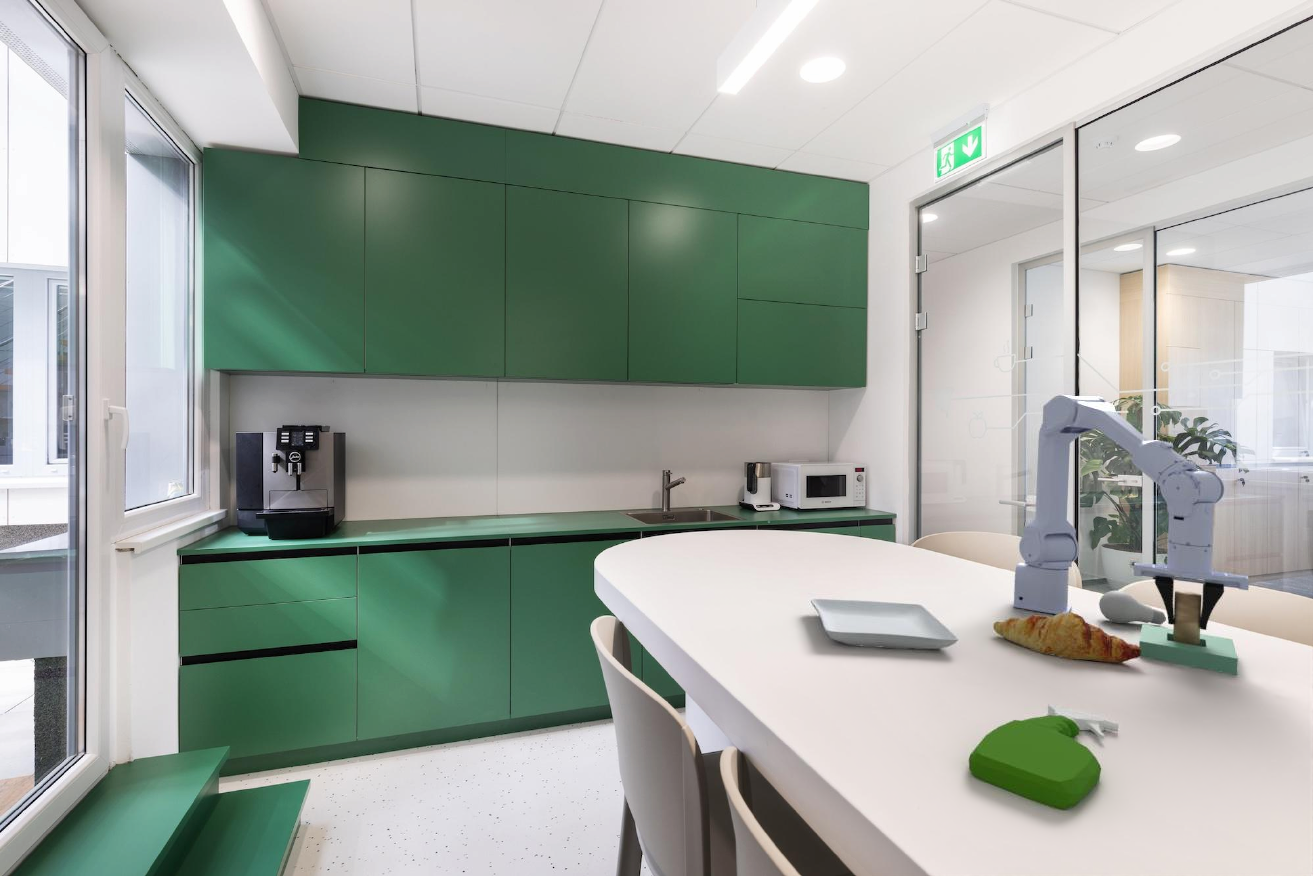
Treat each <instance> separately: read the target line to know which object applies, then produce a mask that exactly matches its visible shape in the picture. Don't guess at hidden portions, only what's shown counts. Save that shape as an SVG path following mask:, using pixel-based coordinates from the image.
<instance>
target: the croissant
mask: <svg viewBox="0 0 1313 876" xmlns="http://www.w3.org/2000/svg"><path fill="white" fill-rule="evenodd" d="M992 627H993V630H994V632H996V633H997V634H998V635H1000V636H1001V637H1002V638H1004V639H1006V640H1008V641H1010V642H1013V643H1014V644H1018V645H1020V646H1023V647H1024V648H1028V649H1030V648H1031V649H1030V650H1033V651H1035V650H1036V652H1037V653H1041V652H1042V653H1041V654H1046V653H1047V654H1046V655H1050V654H1054V655H1053V656H1055V655H1056V656H1055V657H1059V656H1061V657H1060V658H1063V657H1064V658H1065V659H1070V658H1071V660H1085V661H1086V660H1087V661H1088V660H1089V661H1095V662H1103V663H1124V662H1127V661H1130V660H1133V659H1135V660H1136V659H1138V658H1140V657H1141V656H1140V655H1141V649H1140V647H1139V646H1138V645H1136V644H1131V643H1127V642H1126V641H1125V640H1124V639H1122V638H1120V637H1118V636H1116V635H1109V634H1108V633H1107V632H1105V631H1104V630H1103V629H1102V628H1100V627H1098V626H1095V625H1092V624H1090V623H1088V622H1086V620H1085V619H1084V617H1083V616H1081V615H1078V614H1077V613H1074V612H1071V611H1070V612H1069V613H1065V614H1063V613H1060V614H1054V616H1047V615H1037V614H1036V615H1035V614H1033V615H1029V616H1027V617H1021V618H1018V617H1017V618H1015V617H1013V618H1012V617H1011V618H1008V619H1005V620H1004V621H997V620H996V621H995V622H994V623H993V626H992Z"/></svg>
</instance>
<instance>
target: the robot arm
mask: <svg viewBox="0 0 1313 876" xmlns="http://www.w3.org/2000/svg"><path fill="white" fill-rule="evenodd" d="M1042 408H1043V409H1042V423H1041V425H1040V428H1039V432H1038V442H1037V444H1038V447H1037V448H1038V451H1037V474H1036V493H1035V494H1036V498H1035V499H1036V500H1035V517H1034V518H1033V519H1032V520H1031V521H1029V522H1028V523H1027V524H1025V525H1024V526H1023V532H1022V533H1023V534H1022V536H1021V539H1020V541H1019V544H1018V548H1019V554H1020V556H1021V558H1022V559H1023V560H1024V562H1017V564H1016V566H1015V571H1014V588H1013V589H1014V592H1013V596H1014V597H1013V605H1012V606H1013V608H1018V609H1023V610H1029V611H1035V612H1040V613H1041V612H1042V613H1046V614H1053V615H1057V614H1060V613H1063V614H1065V613H1069V612H1071V610H1072V605H1069V604H1068V598H1069V574H1070V572H1069V570H1070V568H1071V567H1072V565H1073V564H1072V563H1074V562H1075V561H1076V560H1077V559H1078V557H1079V554H1080V546H1079V543H1078V540H1077V537H1076V536H1077V535H1076V533H1077V530H1076V528H1075V527H1074V526H1073V525H1072V524H1071V523H1070V522H1069V521H1068V518H1067V517H1068V498H1069V497H1068V495H1069V475H1070V474H1069V473H1070V471H1069V469H1070V453H1071V452H1070V449H1071V448H1070V447H1071V443H1072V442H1073V441H1075V440H1076V439H1078V437H1080V436H1081V435H1083V434H1085V433H1088V432H1091V431H1094V430H1098V431H1099V432H1100V433H1102V434H1104V435H1105V436H1106V437H1107V438H1109V439H1110V440H1112V442H1115V443H1116V444H1117V445H1118V446H1120V447H1122V448H1123V449H1125V451H1126V452H1128V453H1130V454H1131V456H1132V457H1131V462H1132V464H1133V465H1134V467H1136V468H1137V469H1138V470H1139V471H1140V472H1142V473H1143V474H1145V475H1146V476H1147V477H1148V478H1149V479H1150V480H1152V481H1153V482H1154V483H1155V484H1156V485H1158V486H1159V489H1160V493H1161V496H1162V498H1163V499H1164V501H1165V502H1166V511H1167V512H1168V532H1167V533H1168V535H1167V536H1168V537H1167V555H1166V556H1167V559H1166V560H1167V561H1166V564H1165V565H1163V564H1153V563H1151V564H1150V563H1141V562H1140V563H1139V562H1134V563H1133V564H1134V565H1133V576H1135V577H1149V578H1154V585H1155V586H1156V588H1157V590H1158V593H1159V594H1160V597H1161V599H1162V602H1163V605H1164V606H1165V607H1164V608H1165V610H1166V611H1165V612H1166V615H1167V621H1168V622H1167V623H1168V625H1173V626H1174V589H1175V588H1174V584H1175V583H1174V581H1178V582H1179V581H1180V582H1187V583H1196V584H1202V601H1201V621H1200V630H1204V631H1207V627H1208V623H1209V622H1208V621H1209V619H1210V617H1211V614H1212V612H1213V610H1214V608H1215V607H1216V606H1217V603H1219V600H1220V599H1222V596H1223V595H1224V593H1225V588H1233V589H1238V590H1241V591H1242V590H1243V591H1249V587H1250V586H1249V583H1250V579H1249V576H1248V575H1240V574H1234V573H1233V574H1232V573H1229V572H1228V573H1226V572H1222V571H1221V572H1220V571H1216V570H1215V571H1214V570H1213V550H1214V546H1213V544H1214V528H1215V527H1214V526H1215V504H1216V503H1218V502H1219V501H1220V500H1221V499H1222V498H1223V497H1224V494H1225V485H1224V483H1223V480H1222V479H1221V478H1220V477H1219V475H1217V474H1216V472H1215V471H1212V470H1209V469H1199V468H1197V464H1196V463H1195V462H1193V461H1192V460H1191V461H1190V460H1187V459H1186V458H1184V457H1183V456H1182V455H1181V454H1179V453H1178V452H1176V451H1175V450H1174V444H1172V443H1170V442H1169V441H1162V440H1159V439H1155V440H1154V439H1153V440H1149V439H1148V438H1147V437H1145V436H1144V434H1142V433H1141V432H1140V431H1139V430H1138V429H1137V428H1135V427H1134V426H1133V425H1132V424H1131V423H1130V422H1129V421H1128V420H1126V419H1125V418H1124V417H1123V416H1122V415H1121V414H1120V413H1118V412H1117V411H1116V409H1115V406H1114V404H1111V403H1110V402H1108V401H1106V399H1105V398H1103V397H1101V396H1097V395H1096V396H1093V395H1092V396H1079V395H1077V396H1075V395H1073V396H1072V395H1065V394H1058V395H1055V396H1053V397H1052V398H1051V399H1050V400H1048V402H1046V403H1045V404H1044V405H1043V407H1042Z"/></svg>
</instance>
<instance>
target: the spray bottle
mask: <svg viewBox="0 0 1313 876" xmlns="http://www.w3.org/2000/svg"><path fill="white" fill-rule="evenodd" d="M1105 730H1108V731H1113V732H1119V722H1116V721H1112V720H1109V719H1106V718H1103V717H1102V716H1100V715H1099V716H1098V715H1094V714H1090V713H1086V712H1083V711H1079V710H1075V709H1071V708H1067V707H1063V706H1059V705H1054V704H1047V715H1044V716H1038V717H1037V716H1036V717H1031V718H1027V719H1023V720H1017V719H1015V720H1014V719H1013V720H1012V721H1009V722H1006V723H1005V724H1002V725H1000V726H998V727H996V728H995V729H993V730H992V731H991V732H988V733H987V734H985V736H984V737H983V738H982V739H981V741H980V742H979V743H978V744H977V746H976V747H975V748H974V749H973V750H972V752H971V753H970V755H969V758H968V766H969V767H968V769H969V770H970V772H971V774H972V775H973V777H974V778H976V779H978V780H980V781H982V782H984V783H987V784H990V785H993V786H994V787H997V788H1000V789H1001V790H1004V791H1007V792H1010V793H1012V794H1015V795H1018V796H1020V797H1023V798H1025V799H1026V800H1027V799H1028V800H1030V801H1033V802H1036V803H1039V804H1041V805H1044V806H1047V805H1048V806H1047V807H1049V808H1053V809H1058V810H1062V809H1063V811H1064V810H1067V809H1070V807H1071V808H1073V807H1075V806H1076V805H1077V804H1078V803H1079V802H1080V801H1082V799H1083V798H1085V796H1087V795H1088V794H1089V793H1090V792H1091V791H1092V790H1093V788H1094V787H1095V786H1096V785H1097V784H1098V782H1099V781H1100V777H1101V772H1102V766H1101V764H1100V763H1099V760H1098V759H1097V757H1096V756H1095V755H1094V753H1092V751H1091V750H1090V749H1089V748H1088V747H1087V746H1085V745H1083V744H1082V743H1080V742H1079V741H1077V740H1075V739H1073V738H1075V737H1077V736H1079V734H1080V731H1091V732H1093V733H1094V734H1095V735H1097V736H1098V737H1099V738H1100V739H1103V740H1104V739H1105V734H1104V733H1103V731H1105Z"/></svg>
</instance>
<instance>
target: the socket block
mask: <svg viewBox="0 0 1313 876" xmlns="http://www.w3.org/2000/svg"><path fill="white" fill-rule="evenodd" d="M1173 629H1174V628H1166V627H1161V626H1155V625H1148V624H1145V623H1144V624H1142V625H1141V630H1140V634H1139V635H1140V637H1139V646H1138V647H1140V649H1141V655H1140V656H1139V657H1142V658H1146V659H1152V660H1157V661H1162V662H1163V661H1164V662H1168V663H1171V664H1172V663H1173V664H1178V665H1183V666H1188V667H1194V668H1200V669H1204V670H1210V671H1215V672H1220V673H1226V674H1230V675H1231V674H1232V675H1238V664H1239V662H1238V660H1239V659H1238V655H1237V651H1236V647H1235V645H1234V640H1233V639H1232V638H1228V637H1227V638H1226V637H1221V636H1215V635H1209V634H1204V633H1200V646H1196V645H1190V644H1184V643H1179V642H1173Z"/></svg>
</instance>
